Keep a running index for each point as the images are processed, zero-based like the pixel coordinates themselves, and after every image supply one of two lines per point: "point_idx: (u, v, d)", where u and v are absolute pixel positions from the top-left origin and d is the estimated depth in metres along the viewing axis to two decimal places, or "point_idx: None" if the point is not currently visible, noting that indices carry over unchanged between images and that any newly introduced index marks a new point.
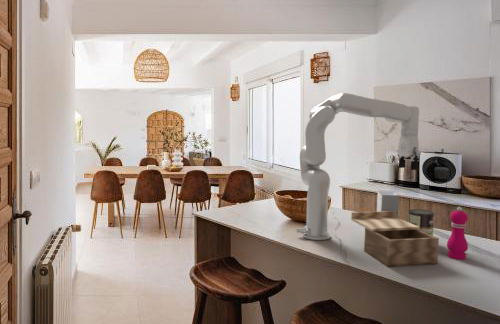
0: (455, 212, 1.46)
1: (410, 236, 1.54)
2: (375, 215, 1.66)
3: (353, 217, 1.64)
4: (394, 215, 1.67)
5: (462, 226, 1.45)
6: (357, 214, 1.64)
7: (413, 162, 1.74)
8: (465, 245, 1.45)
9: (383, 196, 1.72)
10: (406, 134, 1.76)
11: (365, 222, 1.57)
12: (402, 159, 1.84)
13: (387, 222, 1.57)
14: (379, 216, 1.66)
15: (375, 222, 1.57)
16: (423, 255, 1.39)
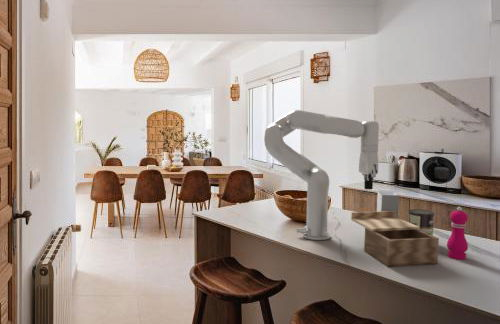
0: (455, 212, 1.46)
1: (410, 236, 1.54)
2: (375, 215, 1.66)
3: (353, 217, 1.64)
4: (394, 215, 1.67)
5: (462, 226, 1.45)
6: (357, 214, 1.64)
7: (368, 181, 1.70)
8: (465, 245, 1.45)
9: (383, 196, 1.72)
10: (365, 150, 1.67)
11: (365, 222, 1.57)
12: None
13: (387, 222, 1.57)
14: (379, 216, 1.66)
15: (375, 222, 1.57)
16: (423, 255, 1.39)
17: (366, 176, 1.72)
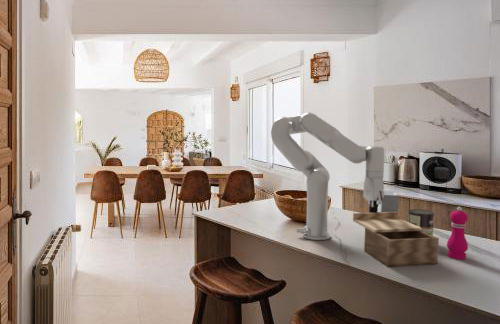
0: (455, 212, 1.46)
1: (410, 236, 1.54)
2: (377, 216, 1.64)
3: (355, 218, 1.62)
4: (396, 216, 1.66)
5: (462, 226, 1.45)
6: (359, 215, 1.62)
7: (373, 208, 1.65)
8: (465, 245, 1.45)
9: None
10: (370, 177, 1.63)
11: (367, 223, 1.55)
12: None
13: (389, 223, 1.56)
14: (381, 217, 1.64)
15: (377, 223, 1.55)
16: (423, 255, 1.39)
17: (371, 202, 1.68)
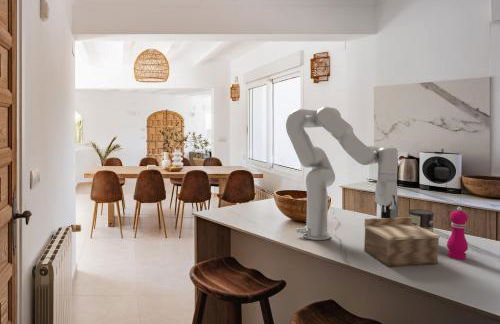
0: (455, 212, 1.46)
1: None
2: (390, 222, 1.54)
3: (367, 224, 1.52)
4: (410, 222, 1.55)
5: (462, 226, 1.45)
6: (371, 221, 1.52)
7: (385, 213, 1.55)
8: (465, 245, 1.45)
9: None
10: (383, 180, 1.52)
11: (380, 230, 1.45)
12: None
13: (404, 230, 1.45)
14: (394, 223, 1.54)
15: (391, 230, 1.45)
16: (423, 255, 1.39)
17: (383, 207, 1.57)
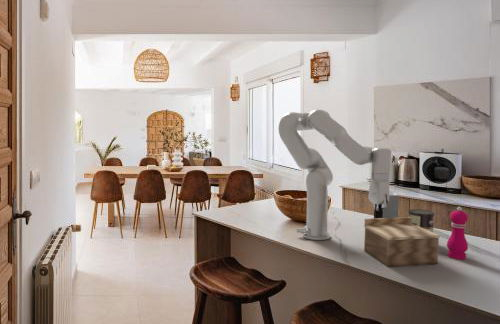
0: (455, 212, 1.46)
1: None
2: (390, 222, 1.54)
3: (367, 224, 1.52)
4: (410, 222, 1.55)
5: (462, 226, 1.45)
6: (371, 221, 1.52)
7: (377, 211, 1.60)
8: (465, 245, 1.45)
9: None
10: (376, 179, 1.57)
11: (380, 230, 1.45)
12: None
13: (404, 230, 1.46)
14: (394, 223, 1.54)
15: (391, 230, 1.45)
16: (423, 255, 1.39)
17: (376, 205, 1.63)
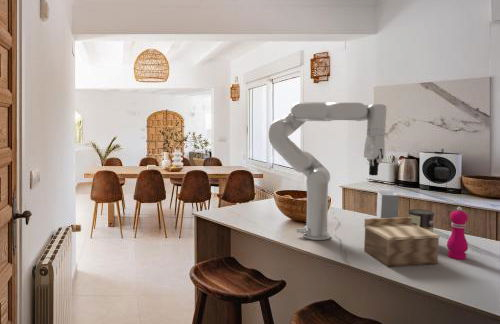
0: (455, 212, 1.46)
1: None
2: (390, 222, 1.54)
3: (367, 224, 1.52)
4: (410, 222, 1.55)
5: (462, 226, 1.45)
6: (371, 221, 1.52)
7: (373, 167, 1.63)
8: (465, 245, 1.45)
9: (383, 196, 1.72)
10: (371, 134, 1.60)
11: (380, 230, 1.45)
12: None
13: (404, 230, 1.46)
14: (394, 223, 1.54)
15: (391, 230, 1.45)
16: (423, 255, 1.39)
17: (371, 162, 1.65)
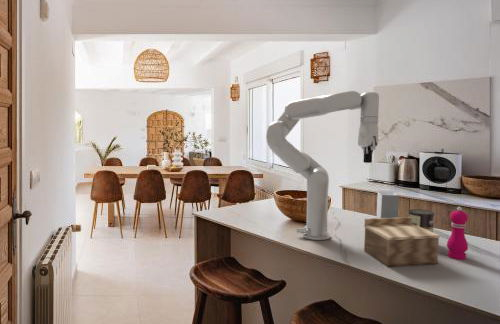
0: (455, 212, 1.46)
1: None
2: (390, 222, 1.54)
3: (367, 224, 1.52)
4: (410, 222, 1.55)
5: (462, 226, 1.45)
6: (371, 221, 1.52)
7: (367, 154, 1.66)
8: (465, 245, 1.45)
9: (383, 196, 1.72)
10: (365, 122, 1.63)
11: (380, 230, 1.45)
12: None
13: (404, 230, 1.46)
14: (394, 223, 1.54)
15: (391, 230, 1.45)
16: (423, 255, 1.39)
17: None
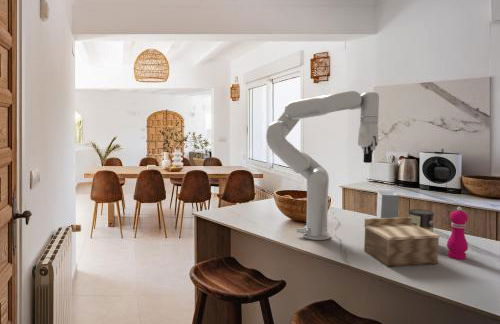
0: (455, 212, 1.46)
1: None
2: (390, 222, 1.54)
3: (367, 224, 1.52)
4: (410, 222, 1.55)
5: (462, 226, 1.45)
6: (371, 221, 1.52)
7: (367, 154, 1.66)
8: (465, 245, 1.45)
9: (383, 196, 1.72)
10: (365, 122, 1.63)
11: (380, 230, 1.45)
12: None
13: (404, 230, 1.46)
14: (394, 223, 1.54)
15: (391, 230, 1.45)
16: (423, 255, 1.39)
17: None
